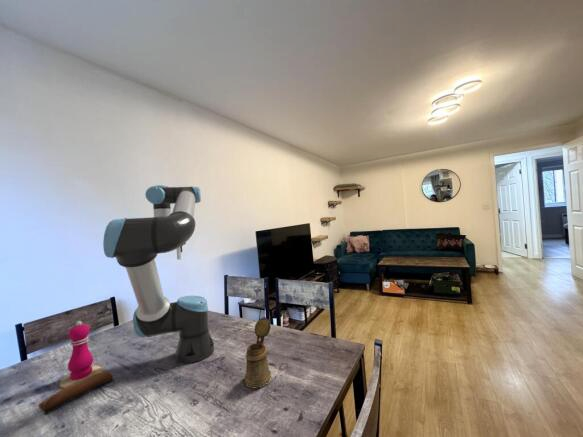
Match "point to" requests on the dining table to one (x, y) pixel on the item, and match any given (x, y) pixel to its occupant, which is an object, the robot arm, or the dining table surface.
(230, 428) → the dining table surface
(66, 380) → the coaster
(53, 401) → the sunglasses case
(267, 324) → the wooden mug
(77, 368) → the pepper mill
